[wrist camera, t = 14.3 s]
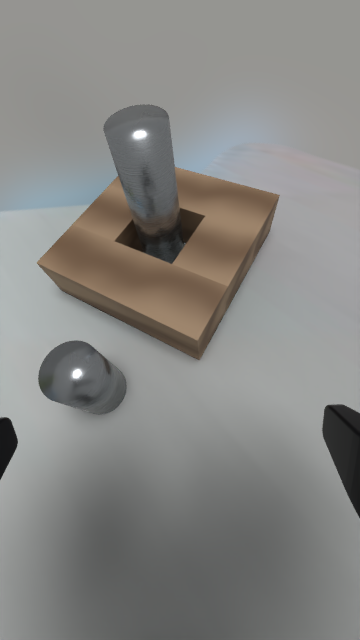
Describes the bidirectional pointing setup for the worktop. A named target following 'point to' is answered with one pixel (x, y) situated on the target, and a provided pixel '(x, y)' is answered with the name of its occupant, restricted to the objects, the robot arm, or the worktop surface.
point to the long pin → (148, 177)
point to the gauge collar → (157, 275)
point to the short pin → (81, 378)
